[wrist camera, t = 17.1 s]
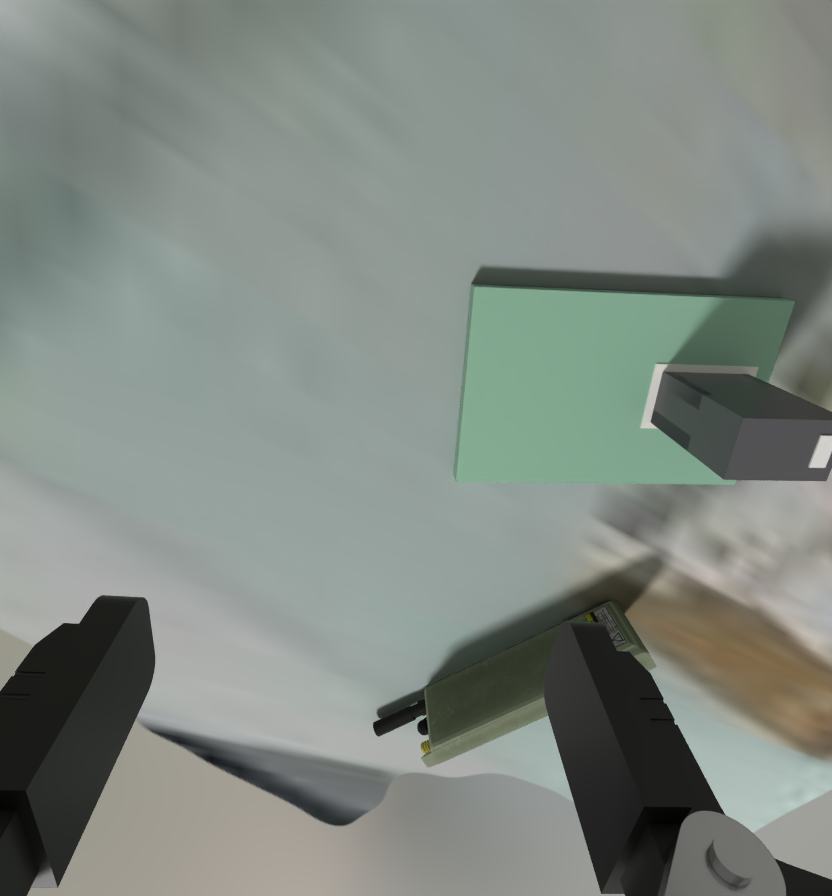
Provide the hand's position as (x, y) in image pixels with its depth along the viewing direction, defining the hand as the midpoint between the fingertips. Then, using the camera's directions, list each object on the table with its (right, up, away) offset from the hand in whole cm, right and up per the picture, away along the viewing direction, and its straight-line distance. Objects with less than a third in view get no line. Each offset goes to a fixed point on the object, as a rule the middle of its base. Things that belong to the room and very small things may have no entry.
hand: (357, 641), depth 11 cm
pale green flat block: (+15, +8, +29) cm, 34 cm away
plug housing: (+21, +7, +29) cm, 36 cm away
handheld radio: (+8, -16, +40) cm, 44 cm away
